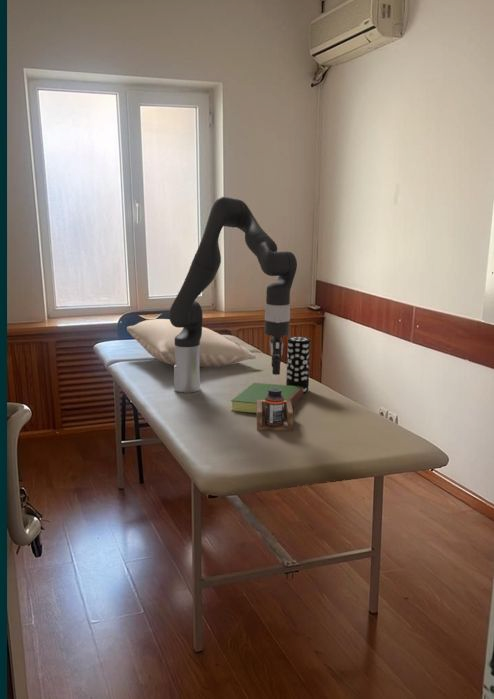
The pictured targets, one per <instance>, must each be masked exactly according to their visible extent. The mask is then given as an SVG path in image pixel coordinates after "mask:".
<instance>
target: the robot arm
mask: <svg viewBox="0 0 494 699" xmlns="http://www.w3.org/2000/svg"><path fill="white" fill-rule="evenodd" d="M223 227H227V228H237V229H239V230H240V231H242V232H243V233H244V242H245V244H246V246H247V248H248V249H249V250H250V251H251V252H252V253H253V255H254V256H255V257H256V258H257V261H258V263H259V265H260V269H261V271H262V273H264V274H265V275H267V276H270V277H277V276H278V277H277V279H276V281H275V282H273V283H270V284H268V285H267V286H266V294H265V297H266V298H265V299H266V300H265V308H264V311H265V312H264V334H265V335H267V336H269V337H270V336H271V338H270V339H269V349H270V356H271V367H272V371H271V372H272V375H275V376H277V375H278V376H279V375H280V374H281V362H282V361H283V360H282V356H283V347H284V339H282V337H285V336H288V335H289V334H290V324H291V323H290V321H291V308H290V307H291V306H290V304H291V303H290V302H291V297H290V296H291V294H290V293H291V288H292V285H293V282H294V279H295V275H296V274H297V273H296V272H297V267H298V260H297V258H296V255H295V254H294V253H293V252H291V251H278V246H277V243H276V242H275V241H274V240H273V238H272V237H270V235H268V233H267V232H265V230H264V229H263V228H262V227H261V226H260V224H259V223H258V221H257V219H256V218H255V216H254V214H253V213H252V211H251V209H250V208H249V206H248V204H247V203H246V202H244V201H243V200H241V199H238V198H232V197H227V196H219V197H218V198H216V199H215V200H214V202H213V204H212V207H211V208H210V212H209V215H208V219H207V222H206V225H205V228H204V232H203V235H202V238H201V241H200V242H199V245H198V248H197V249H196V251H195V252H196V253H195V254H194V256H193V259H192V262H191V264H190V266H189V270H188V272H187V273H186V277H185V279H184V281H183V283H182V286H181V287H180V290H179V291H178V293H177V295H176V297H175V299H174V300H173V303H172V304H171V306H170V308H169V314H168V315H169V316H168V317H169V319H170V322H171V324H172V325H173V326H175V327H178V328H182V327H183V330H182V331H181V333H179V334H178V335H177V336H176V337H175V365H173V382H174V383H173V390H174V392H179V393H183V392H184V393H185V394H187V393H195V392H196V393H197V392H198V391H200V389H201V383H200V380H201V377H200V376H201V373H200V372H201V371H200V370H201V369H200V368H201V367H200V339H201V336H202V327H203V320H204V319H203V316H204V315H203V308H202V306H201V304H200V303H199V302H198V301H197V300H196V299H197V298H198V297H199V295H201V294H202V292H203V291H205V290H206V288H207V289H208V287H209V286H210V285H211V283H212V282H213V281H214V280H215V278H216V276H217V273H218V271H219V269H220V267H221V263H222V256H221V251H220V246H219V239H220V238H219V237H220V234H221V231H222V229H223Z"/></svg>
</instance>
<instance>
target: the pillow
mask: <svg viewBox="0 0 494 699" xmlns="http://www.w3.org/2000/svg"><path fill="white" fill-rule="evenodd" d="M182 330H183V327H182V328H178V327H175V326H173V325H172V324H171V322H170V319H168V318H155V319H146V320H143V321H140V322H137V323H136V324H134V325H129V326H127V327H126V331H127V332H128V333H129V334H130V336H132V337H133V338H134V339H135V341H136V342H138V343H139V345H140V346H142V348H143V349H144V350H145V351H146V352H147V353H149V355H151V356H152V357H153V358H155V359H157V360H159V361H161V362H163V363H166V364H169V365H172V366H175V337H176V336H177V335H178V334H179V333H181V331H182ZM256 358H257V356H256V354H253V353H252V352H251V351H249V350H248V349H247V348H245V347H243V346H242V345H240V344H238V343H237V342H235V341H233V340H232V339H230V338H228V337H227V336H224V335H222V334H220V333H219V332H216V331H214V330H212V329H210V328H208V327H204V326H202V336H201V339H200V368H201V367H202V368H210V367H211V368H213V367H224V366H228V365H229V366H230V365H233V364H237V363H241V362H243V361H248V360H254V359H256Z"/></svg>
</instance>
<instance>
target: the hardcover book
mask: <svg viewBox="0 0 494 699" xmlns="http://www.w3.org/2000/svg"><path fill="white" fill-rule="evenodd" d="M270 388H280V389H281V395H282V396H283V397H284V400H291V404H292V409H293V408H294V407H295V406H296V405H297V404H298V403H299V402H300V401H301V399H302V398H303V397H304V394H303V387H302V386H289V385H286V384H275V383H262V382H253V383H252V384H250V385H248V387H247V388H245V389H244V390H243V391H241V392H240V393H239V394H237V395H236V396H235V397H234V398H233V399H231V400H230V401H231V408H232V409H231V412H235V413H236V412H237V413H244V414H245V413H246V414H256V415H257V400H265V397H266V396H267V395H268V394H269V393H268V391H269V389H270Z"/></svg>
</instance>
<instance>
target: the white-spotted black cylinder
mask: <svg viewBox="0 0 494 699" xmlns="http://www.w3.org/2000/svg"><path fill="white" fill-rule="evenodd" d="M286 349H287V351H286V383H285V385H289V386H302V387H303V395H307V394H308V393H309V386H310V385H309V384H310V382H309V381H310V362H311V361H310V360H311V359H310V357H311V338H310V337H307V336H290V337H287V348H286Z"/></svg>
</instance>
